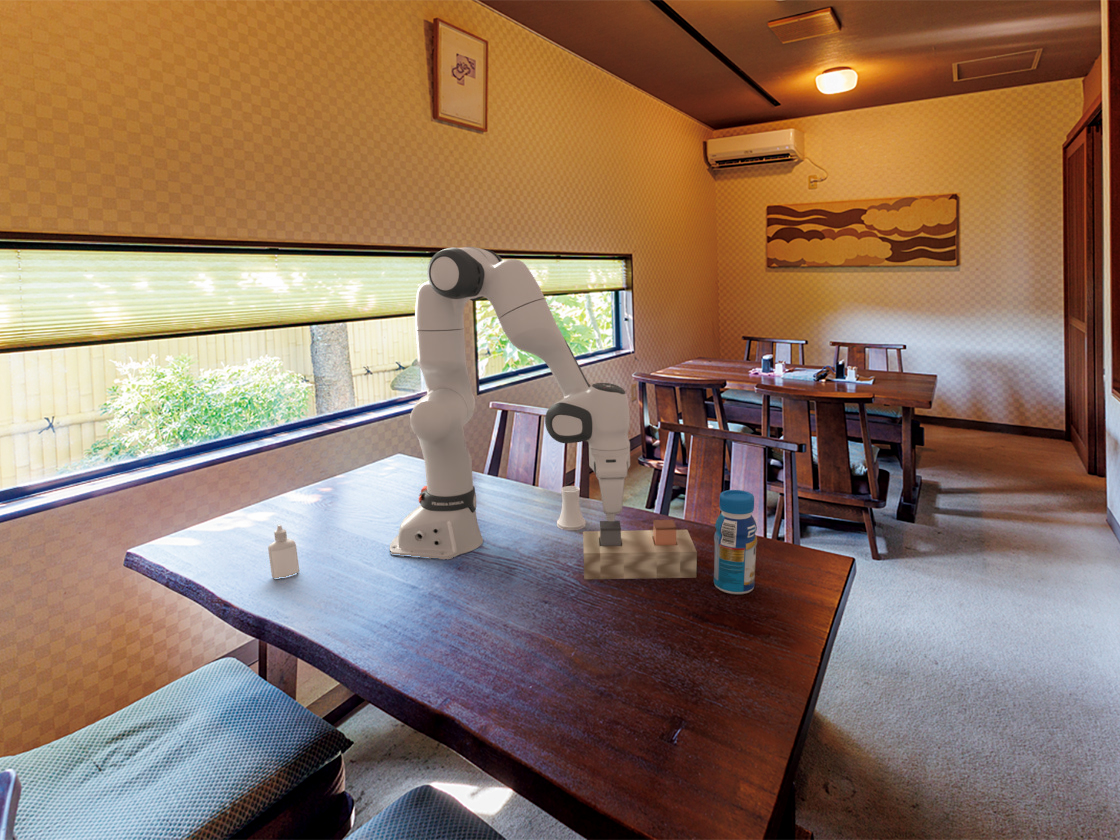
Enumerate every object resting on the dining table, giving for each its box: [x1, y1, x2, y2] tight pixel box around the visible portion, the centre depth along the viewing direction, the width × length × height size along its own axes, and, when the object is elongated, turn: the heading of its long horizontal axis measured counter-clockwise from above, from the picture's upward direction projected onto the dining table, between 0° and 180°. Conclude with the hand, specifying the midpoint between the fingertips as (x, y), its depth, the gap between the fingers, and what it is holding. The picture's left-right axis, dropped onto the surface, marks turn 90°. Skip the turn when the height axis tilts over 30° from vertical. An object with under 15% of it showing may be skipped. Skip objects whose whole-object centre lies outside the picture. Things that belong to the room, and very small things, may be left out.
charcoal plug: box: [599, 520, 622, 546], centre depth 140 cm, size 4×4×6 cm
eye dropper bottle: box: [267, 524, 300, 579], centre depth 141 cm, size 4×6×12 cm
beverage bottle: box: [713, 489, 758, 595], centre depth 129 cm, size 8×8×20 cm
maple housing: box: [582, 529, 698, 580], centre depth 141 cm, size 24×12×6 cm, turn 88°
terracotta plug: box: [653, 519, 677, 545], centre depth 140 cm, size 4×4×6 cm
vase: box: [556, 485, 587, 531], centre depth 165 cm, size 8×8×10 cm
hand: (610, 518), depth 139 cm, fingers closed
